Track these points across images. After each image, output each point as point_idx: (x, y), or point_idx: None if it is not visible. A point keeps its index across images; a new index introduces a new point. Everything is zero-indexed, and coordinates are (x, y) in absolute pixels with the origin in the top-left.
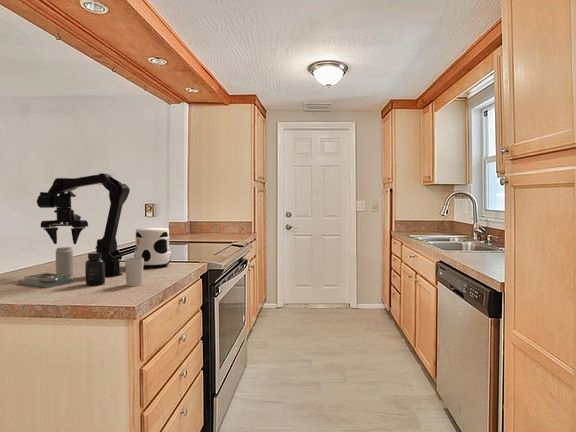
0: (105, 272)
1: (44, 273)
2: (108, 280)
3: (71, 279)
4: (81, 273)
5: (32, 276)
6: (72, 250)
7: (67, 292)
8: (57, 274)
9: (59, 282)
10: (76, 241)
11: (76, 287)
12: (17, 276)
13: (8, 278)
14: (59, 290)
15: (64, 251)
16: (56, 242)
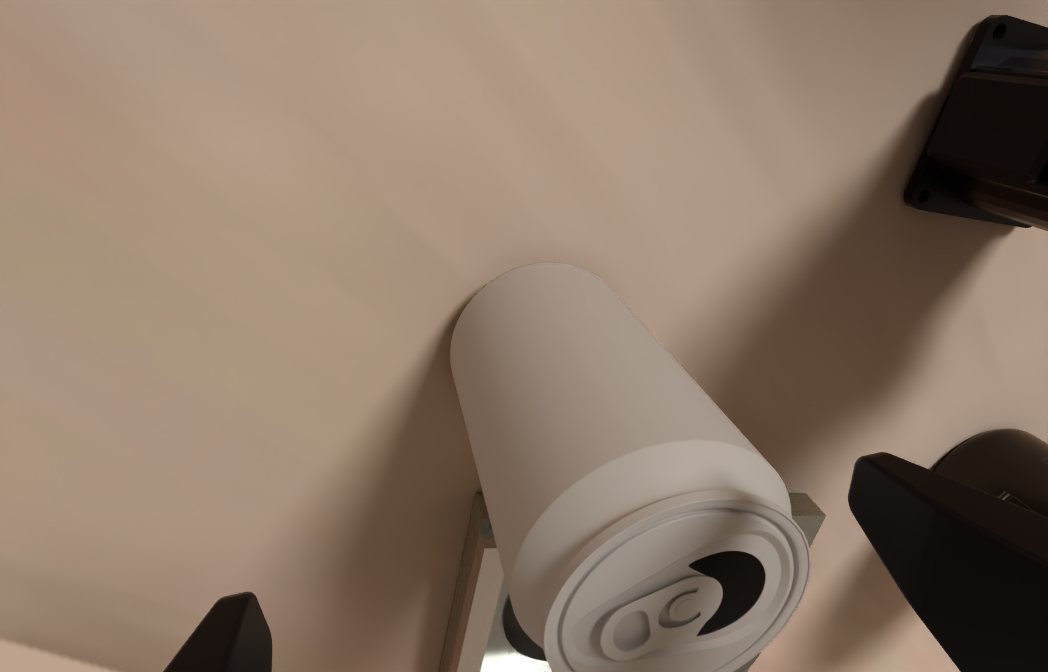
0: (995, 213)
1: (499, 574)
2: (1029, 345)
3: (810, 537)
4: (607, 125)
5: (479, 658)
6: (785, 488)
7: (896, 662)
8: None
9: None
10: (949, 498)
11: (891, 582)
12: (17, 542)
13: (67, 630)
14: (833, 659)
15: (731, 620)
16: (248, 631)
